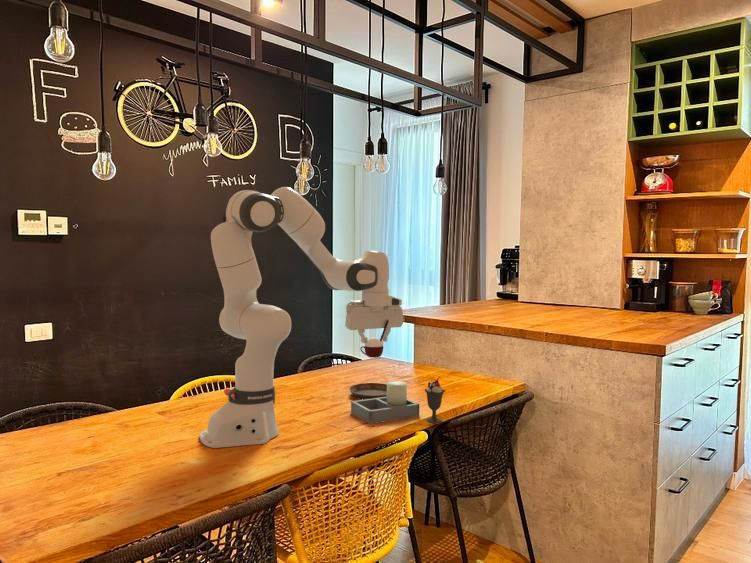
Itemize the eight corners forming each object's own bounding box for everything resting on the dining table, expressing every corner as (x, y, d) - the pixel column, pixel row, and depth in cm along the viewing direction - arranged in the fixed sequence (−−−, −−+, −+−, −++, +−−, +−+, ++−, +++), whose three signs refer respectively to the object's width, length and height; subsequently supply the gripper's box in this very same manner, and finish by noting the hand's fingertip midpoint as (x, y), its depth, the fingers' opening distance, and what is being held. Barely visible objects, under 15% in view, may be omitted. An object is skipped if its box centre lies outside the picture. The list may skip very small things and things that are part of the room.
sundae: (443, 424, 179) (444, 378, 178) (422, 423, 180) (423, 376, 179) (445, 418, 185) (446, 373, 184) (425, 417, 186) (426, 372, 186)
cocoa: (358, 358, 185) (356, 321, 185) (369, 355, 190) (367, 319, 190) (382, 359, 180) (380, 321, 180) (392, 356, 185) (390, 319, 185)
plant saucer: (386, 405, 201) (386, 396, 201) (341, 399, 208) (341, 391, 207) (402, 393, 217) (402, 385, 217) (360, 388, 224) (360, 381, 224)
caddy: (369, 423, 178) (369, 392, 178) (351, 413, 190) (351, 383, 189) (419, 416, 187) (419, 386, 187) (398, 406, 199) (399, 378, 198)
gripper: (351, 302, 176) (350, 345, 177) (406, 300, 186) (405, 341, 187) (342, 300, 182) (341, 342, 182) (396, 298, 192) (395, 338, 192)
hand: (374, 342), depth 185 cm, fingers closed on cocoa, 6 cm apart
